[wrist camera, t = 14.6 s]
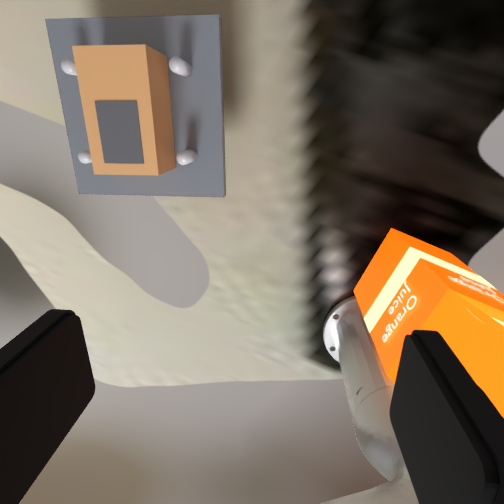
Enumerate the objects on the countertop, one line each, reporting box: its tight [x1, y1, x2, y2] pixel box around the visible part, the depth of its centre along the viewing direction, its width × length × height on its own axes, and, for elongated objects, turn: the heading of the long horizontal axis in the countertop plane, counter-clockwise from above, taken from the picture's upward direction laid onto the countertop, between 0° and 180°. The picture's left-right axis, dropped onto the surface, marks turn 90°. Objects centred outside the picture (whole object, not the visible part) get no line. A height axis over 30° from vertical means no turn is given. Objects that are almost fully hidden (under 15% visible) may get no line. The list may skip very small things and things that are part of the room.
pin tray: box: [45, 14, 226, 197], centre depth 31 cm, size 16×16×4 cm
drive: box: [72, 44, 176, 176], centre depth 30 cm, size 10×6×5 cm, turn 0°
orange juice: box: [353, 228, 504, 417], centre depth 29 cm, size 8×9×20 cm
